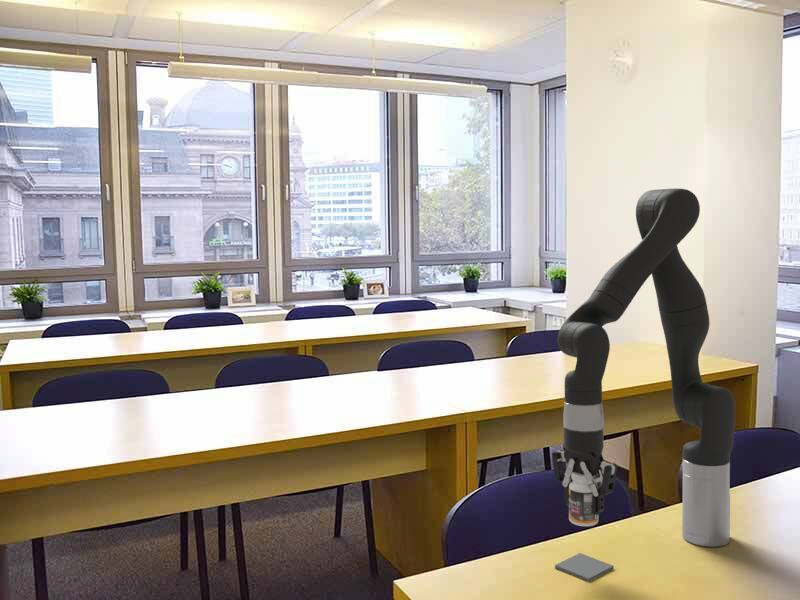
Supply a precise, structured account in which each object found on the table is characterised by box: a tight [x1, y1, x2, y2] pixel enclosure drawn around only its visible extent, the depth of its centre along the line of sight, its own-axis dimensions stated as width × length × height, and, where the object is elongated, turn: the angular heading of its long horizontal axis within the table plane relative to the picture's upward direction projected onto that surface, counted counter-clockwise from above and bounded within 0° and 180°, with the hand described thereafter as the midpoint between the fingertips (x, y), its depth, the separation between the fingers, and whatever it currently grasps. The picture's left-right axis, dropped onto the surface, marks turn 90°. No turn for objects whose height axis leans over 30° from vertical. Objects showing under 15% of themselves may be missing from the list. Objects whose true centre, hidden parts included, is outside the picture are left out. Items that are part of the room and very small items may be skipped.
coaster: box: [554, 552, 615, 582], centre depth 146 cm, size 8×8×1 cm
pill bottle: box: [568, 472, 600, 527], centre depth 145 cm, size 6×6×10 cm
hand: (583, 508), depth 145 cm, fingers closed on pill bottle, 5 cm apart
